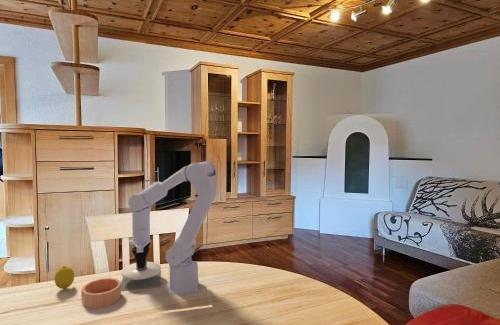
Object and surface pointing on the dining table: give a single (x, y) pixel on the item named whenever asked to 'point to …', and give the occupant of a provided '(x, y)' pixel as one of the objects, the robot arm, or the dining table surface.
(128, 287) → the mat
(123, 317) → the dining table surface
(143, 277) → the lid
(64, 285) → the lemon
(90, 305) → the bowl
